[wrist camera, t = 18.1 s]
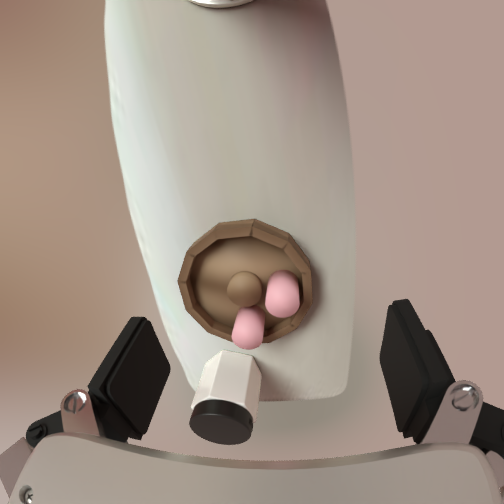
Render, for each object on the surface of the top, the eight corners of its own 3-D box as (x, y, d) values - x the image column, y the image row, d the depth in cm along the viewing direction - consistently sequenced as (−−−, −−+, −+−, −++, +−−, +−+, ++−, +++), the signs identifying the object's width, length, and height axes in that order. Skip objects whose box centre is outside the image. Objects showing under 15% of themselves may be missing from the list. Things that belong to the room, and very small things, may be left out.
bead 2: (266, 270, 34) (263, 290, 29) (297, 268, 33) (298, 287, 29) (269, 297, 35) (267, 318, 31) (299, 294, 34) (300, 316, 30)
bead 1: (235, 305, 36) (228, 326, 32) (263, 303, 35) (260, 325, 31) (239, 327, 37) (234, 349, 33) (266, 326, 37) (264, 348, 33)
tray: (174, 228, 34) (165, 236, 31) (305, 213, 32) (307, 221, 29) (201, 331, 40) (196, 344, 37) (312, 326, 37) (313, 339, 35)
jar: (236, 392, 45) (224, 450, 34) (197, 367, 43) (176, 426, 32) (272, 368, 41) (267, 433, 30) (231, 340, 40) (214, 405, 29)
